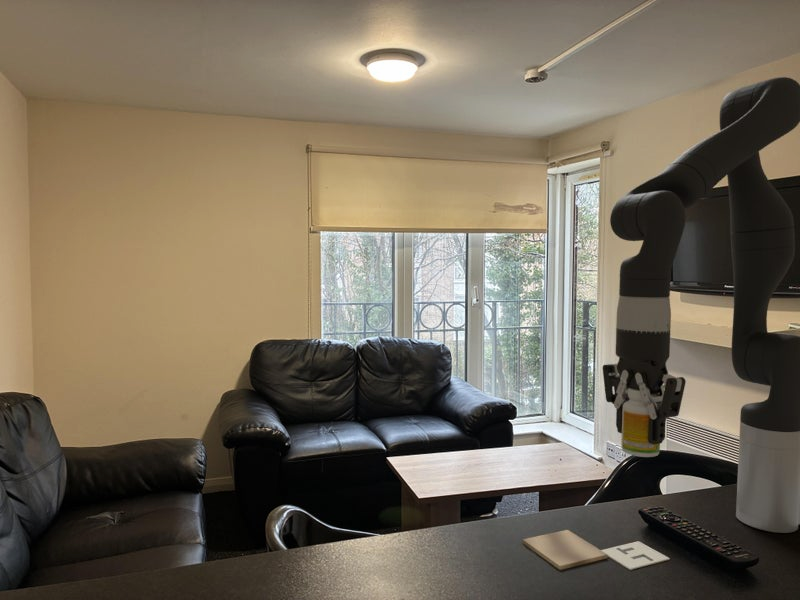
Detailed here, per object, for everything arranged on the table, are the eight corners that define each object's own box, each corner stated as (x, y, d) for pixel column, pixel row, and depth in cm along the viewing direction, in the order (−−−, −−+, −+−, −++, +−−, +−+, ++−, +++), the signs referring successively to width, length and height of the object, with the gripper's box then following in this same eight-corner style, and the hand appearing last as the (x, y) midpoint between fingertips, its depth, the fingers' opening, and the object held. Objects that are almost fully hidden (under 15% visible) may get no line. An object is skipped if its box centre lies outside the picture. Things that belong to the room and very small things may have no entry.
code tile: (638, 542, 93) (638, 541, 93) (669, 559, 88) (669, 558, 88) (600, 551, 90) (600, 550, 90) (630, 570, 84) (630, 568, 84)
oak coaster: (567, 533, 96) (567, 529, 96) (607, 558, 88) (607, 554, 88) (522, 543, 92) (522, 539, 92) (559, 570, 84) (560, 566, 84)
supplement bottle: (663, 459, 85) (665, 393, 84) (624, 456, 86) (626, 391, 85) (654, 448, 90) (657, 386, 90) (618, 445, 91) (620, 384, 91)
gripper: (702, 330, 82) (698, 448, 83) (625, 322, 95) (621, 423, 96) (664, 332, 79) (660, 455, 80) (589, 323, 92) (586, 428, 93)
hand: (639, 437), depth 88 cm, fingers closed on supplement bottle, 5 cm apart
